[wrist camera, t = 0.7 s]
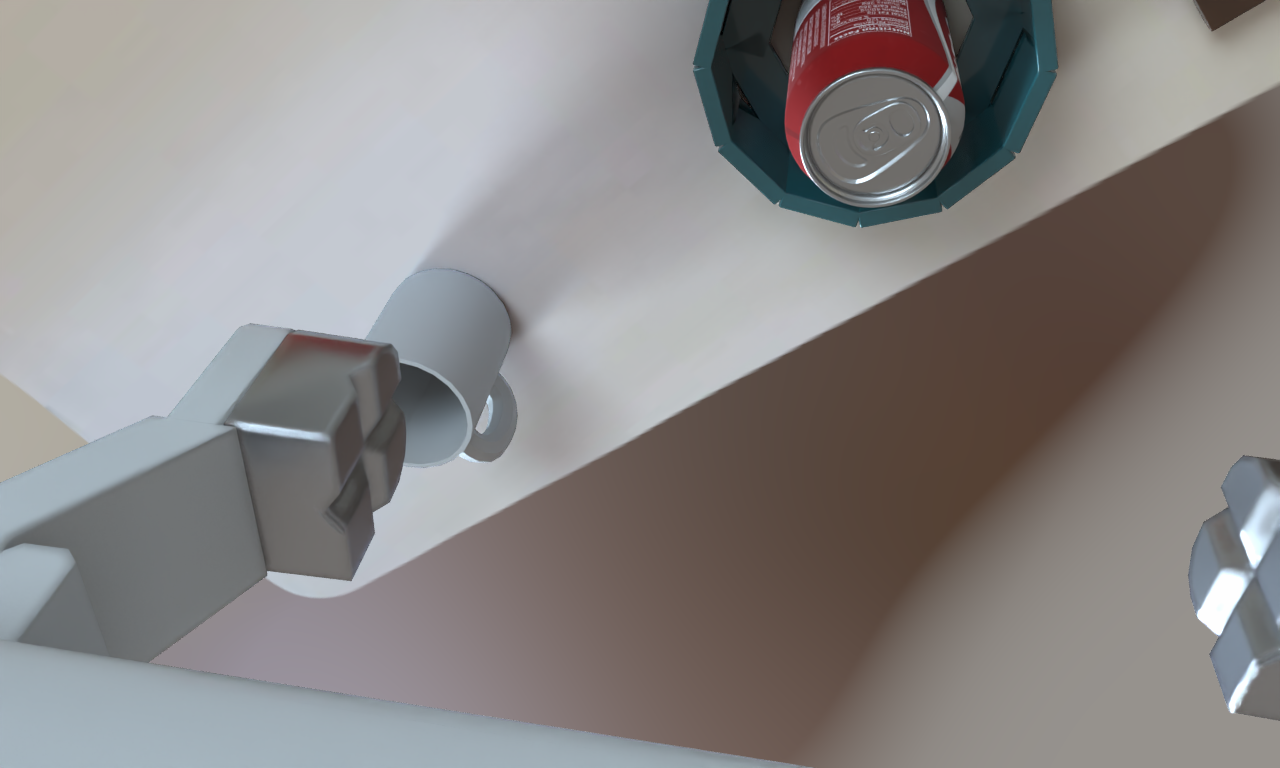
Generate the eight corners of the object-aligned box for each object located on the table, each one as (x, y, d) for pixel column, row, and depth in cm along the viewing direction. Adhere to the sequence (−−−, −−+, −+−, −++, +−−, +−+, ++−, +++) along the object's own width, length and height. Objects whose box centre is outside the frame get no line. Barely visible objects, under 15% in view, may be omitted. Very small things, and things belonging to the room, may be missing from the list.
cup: (450, 241, 61) (398, 333, 54) (571, 364, 65) (538, 465, 58) (366, 305, 64) (307, 399, 57) (486, 417, 68) (445, 519, 61)
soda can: (767, 2, 50) (749, 109, 41) (905, -79, 47) (919, 16, 38) (837, 123, 53) (835, 249, 44) (971, 54, 50) (999, 173, 41)
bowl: (759, -187, 46) (750, -162, 42) (1098, -94, 46) (1121, -60, 42) (677, 130, 55) (663, 176, 51) (960, 207, 55) (969, 259, 51)
